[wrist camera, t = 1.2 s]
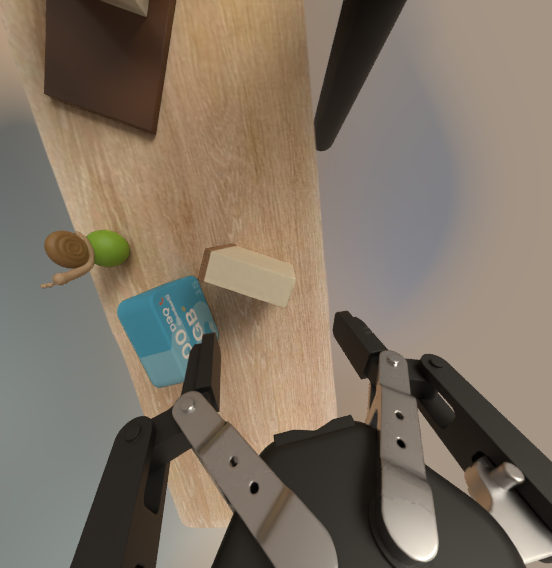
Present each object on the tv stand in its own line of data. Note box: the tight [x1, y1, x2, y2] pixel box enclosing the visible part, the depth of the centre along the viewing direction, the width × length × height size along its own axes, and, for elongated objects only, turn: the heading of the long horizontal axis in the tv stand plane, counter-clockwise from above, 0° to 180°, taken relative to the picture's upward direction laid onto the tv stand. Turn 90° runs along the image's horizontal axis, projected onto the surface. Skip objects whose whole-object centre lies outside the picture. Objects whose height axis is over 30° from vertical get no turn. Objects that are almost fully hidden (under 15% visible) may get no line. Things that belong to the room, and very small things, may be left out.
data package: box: [117, 276, 219, 388], centre depth 29 cm, size 12×4×12 cm, turn 17°
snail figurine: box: [41, 230, 130, 288], centre depth 27 cm, size 5×6×12 cm
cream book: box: [198, 244, 296, 308], centre depth 27 cm, size 4×10×11 cm, turn 72°
